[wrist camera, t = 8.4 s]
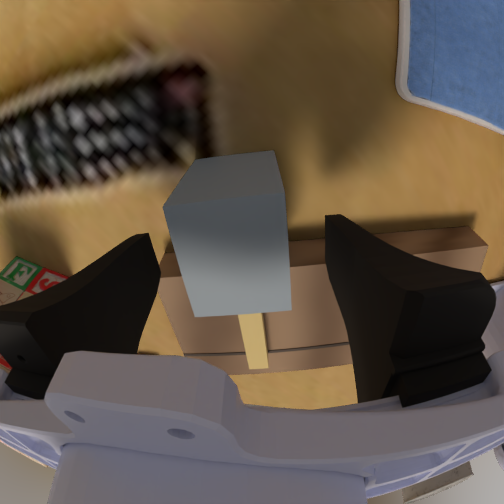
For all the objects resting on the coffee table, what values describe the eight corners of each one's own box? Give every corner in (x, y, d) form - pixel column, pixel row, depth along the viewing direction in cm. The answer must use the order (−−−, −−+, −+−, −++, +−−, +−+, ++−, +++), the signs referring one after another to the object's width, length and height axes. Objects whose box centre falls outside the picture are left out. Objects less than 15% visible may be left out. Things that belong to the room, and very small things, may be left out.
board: (468, 226, 16) (488, 245, 14) (439, 321, 21) (450, 343, 19) (164, 253, 18) (152, 279, 15) (198, 349, 22) (193, 376, 20)
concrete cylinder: (382, 437, 34) (395, 507, 24) (395, 410, 29) (416, 497, 19) (437, 420, 33) (456, 485, 23) (458, 389, 28) (486, 466, 18)
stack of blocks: (94, 402, 30) (68, 485, 20) (52, 384, 29) (22, 462, 19) (75, 276, 19) (-6, 417, 9) (15, 252, 18) (-72, 365, 8)
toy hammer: (273, 150, 14) (284, 192, 9) (286, 323, 21) (293, 395, 16) (195, 159, 15) (162, 206, 10) (230, 327, 21) (225, 399, 16)
